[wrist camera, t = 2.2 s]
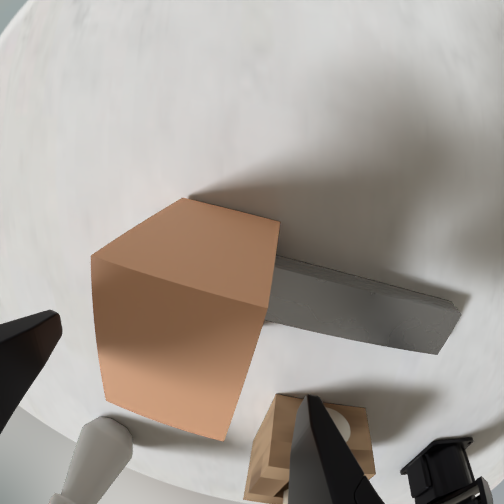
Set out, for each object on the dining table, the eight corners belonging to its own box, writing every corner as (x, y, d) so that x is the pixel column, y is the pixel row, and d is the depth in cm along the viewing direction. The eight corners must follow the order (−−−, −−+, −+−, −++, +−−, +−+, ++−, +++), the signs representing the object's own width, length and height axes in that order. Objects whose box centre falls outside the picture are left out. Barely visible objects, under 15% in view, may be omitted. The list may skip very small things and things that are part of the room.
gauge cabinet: (367, 405, 19) (378, 472, 13) (328, 452, 21) (330, 508, 16) (277, 391, 19) (269, 464, 13) (253, 441, 22) (243, 499, 16)
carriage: (280, 221, 14) (268, 308, 7) (250, 329, 17) (223, 441, 10) (182, 197, 15) (90, 255, 7) (168, 306, 17) (106, 400, 10)
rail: (451, 301, 15) (461, 314, 14) (429, 340, 16) (437, 354, 15) (153, 223, 16) (141, 231, 14) (149, 271, 17) (137, 282, 15)
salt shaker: (92, 426, 26) (44, 509, 14) (89, 402, 23) (30, 497, 11) (137, 450, 26) (97, 539, 14) (141, 429, 24) (92, 534, 12)
